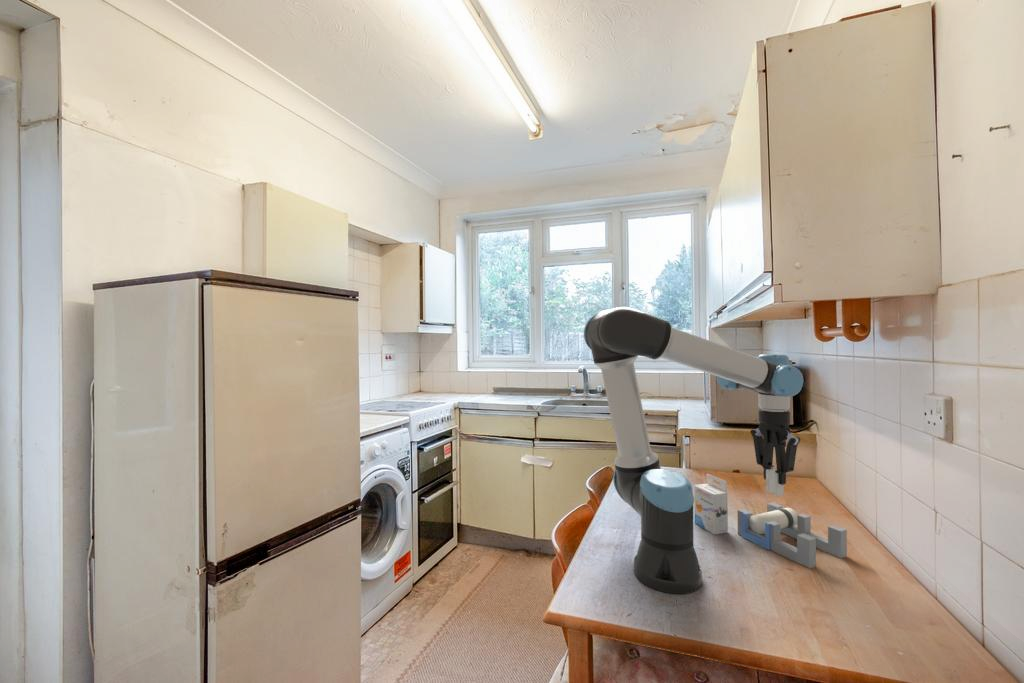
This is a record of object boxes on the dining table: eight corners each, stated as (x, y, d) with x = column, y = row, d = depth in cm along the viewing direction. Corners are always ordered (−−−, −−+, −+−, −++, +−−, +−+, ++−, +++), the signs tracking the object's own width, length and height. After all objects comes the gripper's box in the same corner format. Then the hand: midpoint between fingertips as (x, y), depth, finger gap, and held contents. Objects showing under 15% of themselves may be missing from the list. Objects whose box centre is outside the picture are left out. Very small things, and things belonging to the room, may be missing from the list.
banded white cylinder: (766, 536, 114) (763, 517, 114) (749, 531, 118) (747, 513, 119) (800, 527, 119) (797, 509, 119) (783, 523, 123) (781, 505, 124)
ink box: (693, 523, 129) (693, 474, 129) (707, 520, 130) (706, 472, 130) (714, 535, 121) (714, 483, 121) (728, 532, 122) (728, 481, 122)
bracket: (807, 568, 103) (807, 540, 103) (736, 534, 121) (736, 510, 121) (848, 555, 108) (848, 529, 108) (774, 524, 127) (774, 502, 127)
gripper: (810, 412, 113) (811, 500, 113) (759, 404, 127) (759, 483, 127) (791, 414, 110) (791, 505, 110) (741, 406, 124) (741, 487, 124)
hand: (774, 493), depth 118 cm, fingers open, 2 cm apart
